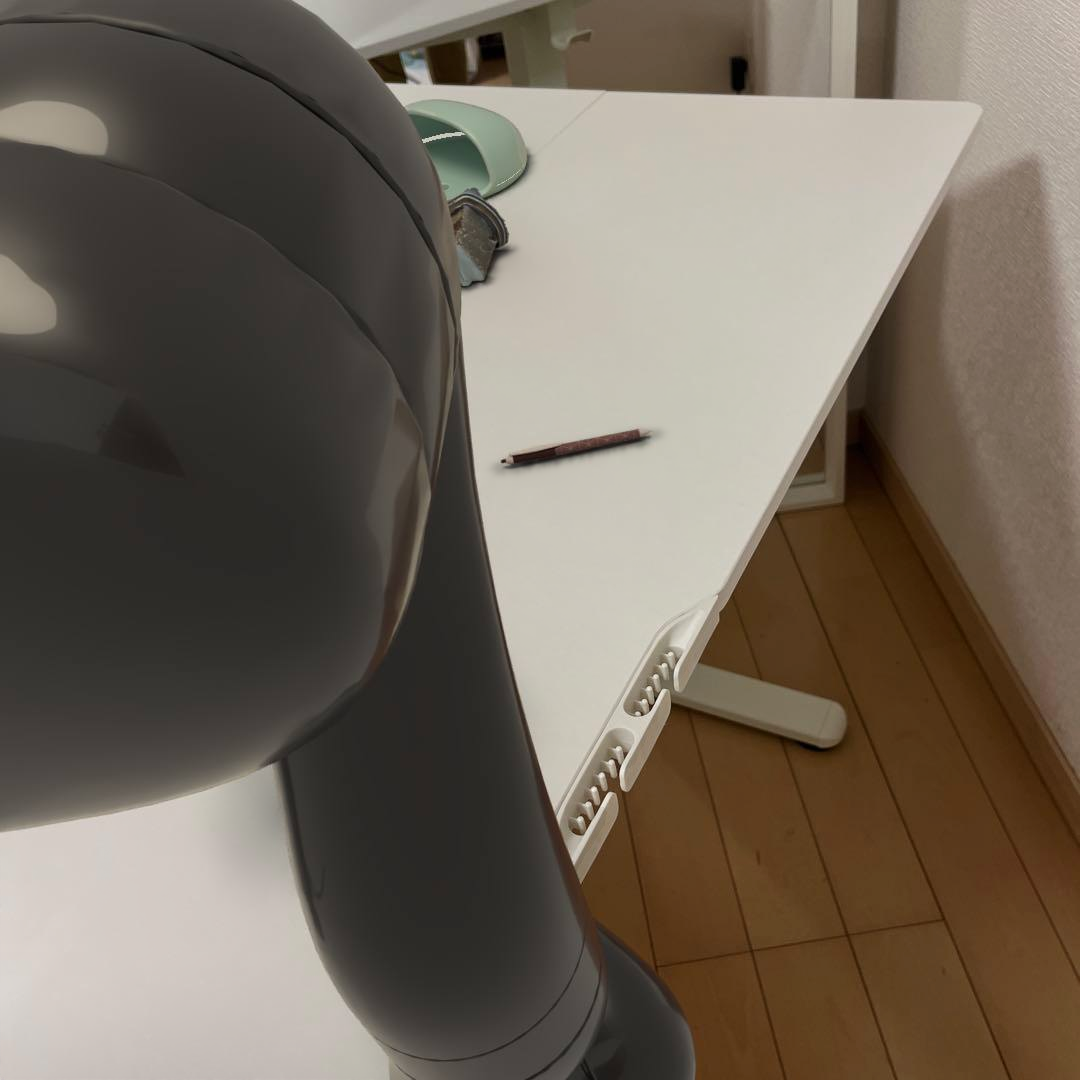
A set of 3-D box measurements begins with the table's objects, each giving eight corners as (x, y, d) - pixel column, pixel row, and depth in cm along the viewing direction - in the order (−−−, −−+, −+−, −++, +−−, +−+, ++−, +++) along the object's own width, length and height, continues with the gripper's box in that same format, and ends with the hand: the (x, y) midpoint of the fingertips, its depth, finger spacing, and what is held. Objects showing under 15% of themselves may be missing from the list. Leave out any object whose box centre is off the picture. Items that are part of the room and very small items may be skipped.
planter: (550, 92, 115) (429, 156, 108) (562, 159, 120) (447, 224, 113) (441, 67, 127) (326, 123, 120) (456, 129, 132) (346, 186, 125)
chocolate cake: (370, 295, 106) (420, 223, 96) (388, 240, 109) (438, 166, 99) (458, 338, 109) (515, 273, 99) (473, 284, 112) (529, 216, 103)
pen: (502, 469, 81) (499, 459, 80) (501, 463, 82) (499, 452, 81) (653, 437, 81) (652, 426, 80) (651, 431, 81) (649, 420, 81)
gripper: (493, 632, 50) (365, 460, 61) (194, 788, 46) (117, 573, 57) (524, 735, 55) (400, 557, 66) (256, 882, 51) (174, 667, 62)
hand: (268, 565), depth 62 cm, fingers open, 8 cm apart
